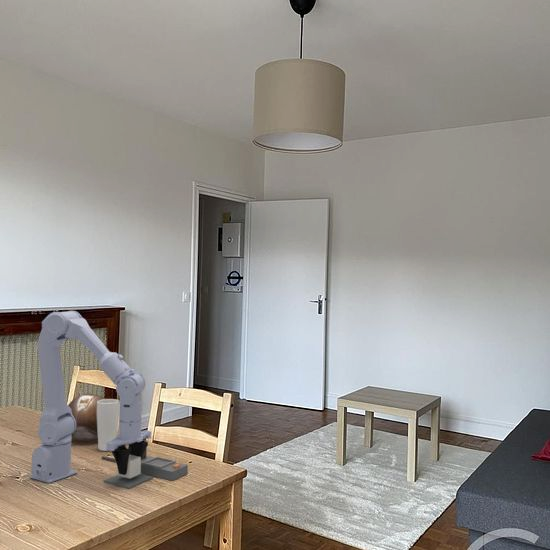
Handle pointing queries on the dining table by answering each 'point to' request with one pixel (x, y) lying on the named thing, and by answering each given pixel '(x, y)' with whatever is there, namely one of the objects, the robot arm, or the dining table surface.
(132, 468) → the block
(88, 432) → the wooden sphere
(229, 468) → the dining table surface
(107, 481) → the felt mat
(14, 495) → the dining table surface
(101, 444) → the drinking glass
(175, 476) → the power strip
